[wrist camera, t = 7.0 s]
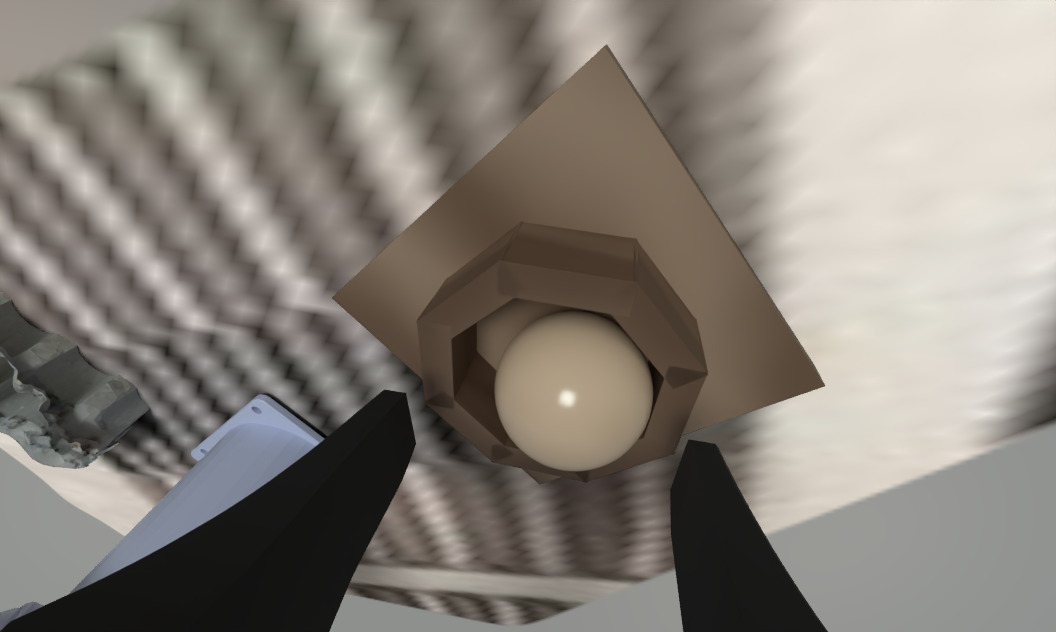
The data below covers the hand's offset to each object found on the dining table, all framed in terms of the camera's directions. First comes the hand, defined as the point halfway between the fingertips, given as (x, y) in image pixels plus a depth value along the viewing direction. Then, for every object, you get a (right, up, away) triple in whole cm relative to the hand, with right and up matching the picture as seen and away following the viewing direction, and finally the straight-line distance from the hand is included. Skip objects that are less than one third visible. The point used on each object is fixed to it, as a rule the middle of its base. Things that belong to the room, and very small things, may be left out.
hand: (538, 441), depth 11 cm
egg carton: (-27, +1, +13) cm, 30 cm away
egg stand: (+1, +3, +4) cm, 5 cm away
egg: (+1, +1, +2) cm, 2 cm away
